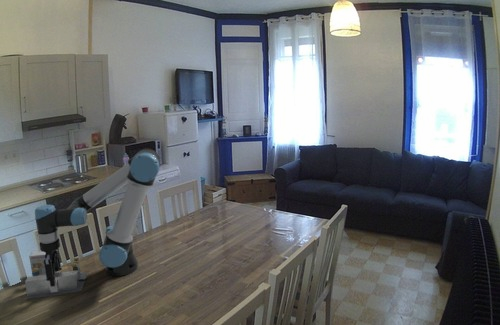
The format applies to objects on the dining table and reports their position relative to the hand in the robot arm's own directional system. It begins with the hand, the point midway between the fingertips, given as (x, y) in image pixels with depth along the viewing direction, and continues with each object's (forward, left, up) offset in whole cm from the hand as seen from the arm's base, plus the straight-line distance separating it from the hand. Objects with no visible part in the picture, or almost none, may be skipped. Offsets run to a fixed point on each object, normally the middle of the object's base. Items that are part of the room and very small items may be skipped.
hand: (56, 287), depth 152 cm
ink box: (+10, -17, -2) cm, 20 cm away
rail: (+1, 0, -1) cm, 1 cm away
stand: (+1, -8, -1) cm, 8 cm away
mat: (0, 0, -1) cm, 1 cm away
